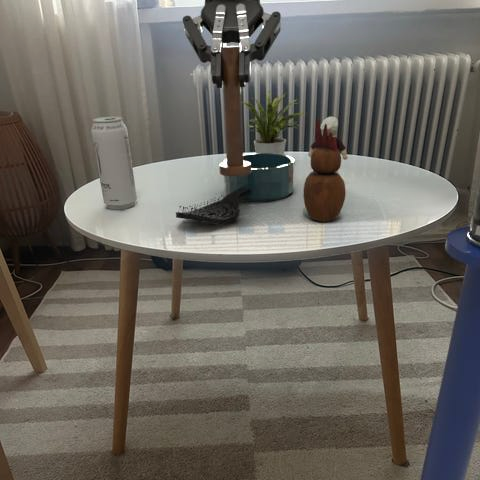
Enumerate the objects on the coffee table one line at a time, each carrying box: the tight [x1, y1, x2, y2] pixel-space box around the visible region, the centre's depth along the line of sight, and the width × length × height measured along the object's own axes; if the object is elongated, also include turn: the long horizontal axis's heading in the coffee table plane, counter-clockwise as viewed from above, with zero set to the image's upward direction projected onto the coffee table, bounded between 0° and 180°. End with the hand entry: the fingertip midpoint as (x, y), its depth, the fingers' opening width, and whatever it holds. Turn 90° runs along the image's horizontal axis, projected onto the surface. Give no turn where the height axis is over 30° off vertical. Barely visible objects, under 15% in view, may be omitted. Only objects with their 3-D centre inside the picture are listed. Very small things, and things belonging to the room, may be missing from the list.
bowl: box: [223, 152, 295, 203], centre depth 94 cm, size 13×13×6 cm
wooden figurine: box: [302, 119, 346, 222], centre depth 77 cm, size 7×6×15 cm
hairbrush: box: [175, 188, 251, 226], centre depth 85 cm, size 8×4×25 cm
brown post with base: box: [218, 45, 251, 177], centre depth 67 cm, size 5×5×16 cm
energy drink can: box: [90, 116, 138, 211], centre depth 87 cm, size 6×6×15 cm
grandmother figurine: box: [307, 115, 349, 174], centre depth 95 cm, size 8×4×13 cm, turn 80°
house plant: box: [241, 89, 307, 155], centre depth 106 cm, size 14×14×16 cm
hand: (230, 82), depth 64 cm, fingers closed on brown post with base, 2 cm apart
